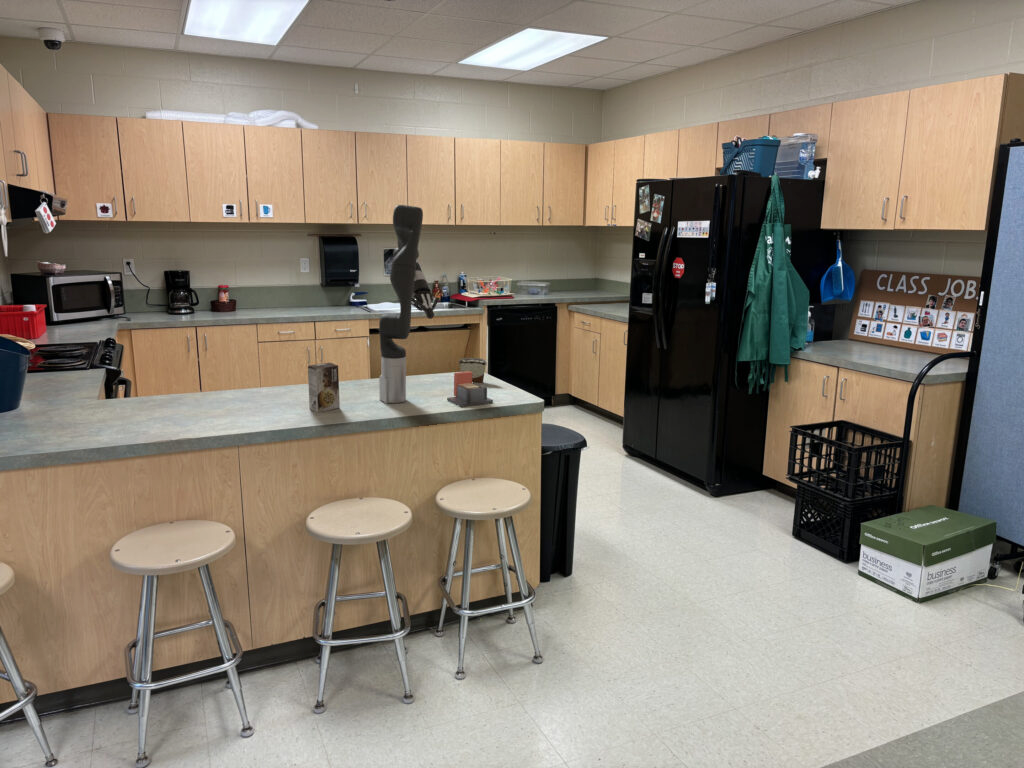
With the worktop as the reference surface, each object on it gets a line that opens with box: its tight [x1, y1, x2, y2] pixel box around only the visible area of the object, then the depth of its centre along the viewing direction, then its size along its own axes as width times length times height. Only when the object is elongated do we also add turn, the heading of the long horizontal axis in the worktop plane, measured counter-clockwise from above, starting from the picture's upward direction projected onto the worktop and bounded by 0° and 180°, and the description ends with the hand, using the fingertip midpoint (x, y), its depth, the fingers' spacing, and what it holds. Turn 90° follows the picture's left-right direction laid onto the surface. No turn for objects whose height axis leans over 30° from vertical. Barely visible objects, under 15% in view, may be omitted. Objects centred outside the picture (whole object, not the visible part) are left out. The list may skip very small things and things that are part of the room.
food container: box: [457, 357, 488, 384], centre depth 306 cm, size 12×6×10 cm, turn 84°
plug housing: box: [446, 383, 494, 408], centre depth 273 cm, size 14×11×6 cm
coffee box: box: [307, 362, 341, 413], centre depth 256 cm, size 9×6×16 cm
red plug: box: [453, 371, 479, 397], centre depth 274 cm, size 7×9×9 cm
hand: (431, 317), depth 285 cm, fingers closed
